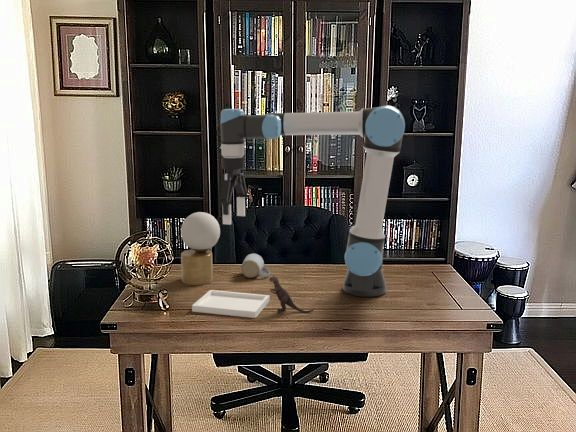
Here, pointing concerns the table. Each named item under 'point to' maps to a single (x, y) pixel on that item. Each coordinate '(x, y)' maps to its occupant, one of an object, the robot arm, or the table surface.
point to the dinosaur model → (283, 297)
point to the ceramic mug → (254, 266)
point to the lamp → (198, 248)
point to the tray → (231, 303)
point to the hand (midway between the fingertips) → (234, 220)
